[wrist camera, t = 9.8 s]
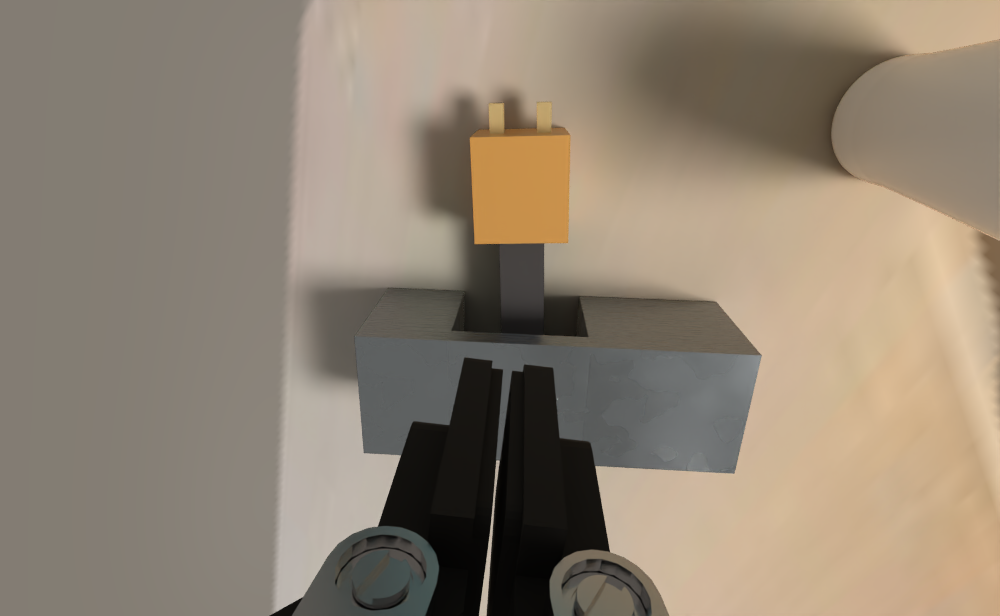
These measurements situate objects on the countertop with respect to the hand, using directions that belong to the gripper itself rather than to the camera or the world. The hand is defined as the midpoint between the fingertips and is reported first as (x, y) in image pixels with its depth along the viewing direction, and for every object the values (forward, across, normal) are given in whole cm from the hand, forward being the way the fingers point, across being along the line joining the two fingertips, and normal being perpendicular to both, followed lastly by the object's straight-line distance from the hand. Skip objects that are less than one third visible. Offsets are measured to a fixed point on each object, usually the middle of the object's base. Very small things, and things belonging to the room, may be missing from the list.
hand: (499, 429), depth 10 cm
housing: (+18, -2, +7) cm, 19 cm away
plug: (+18, -1, +3) cm, 18 cm away
